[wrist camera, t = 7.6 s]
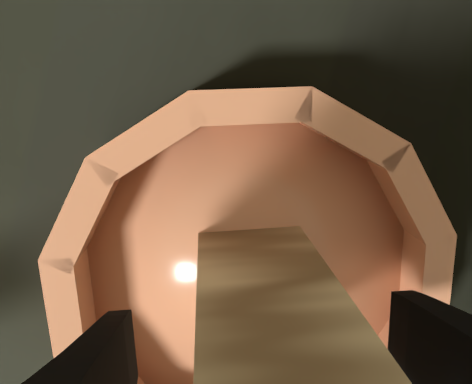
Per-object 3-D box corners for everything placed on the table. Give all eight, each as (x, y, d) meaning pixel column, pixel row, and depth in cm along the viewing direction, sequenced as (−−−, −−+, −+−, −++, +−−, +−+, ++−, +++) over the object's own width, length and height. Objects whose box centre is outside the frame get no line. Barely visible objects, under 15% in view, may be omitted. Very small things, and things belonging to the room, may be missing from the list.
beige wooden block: (299, 225, 14) (415, 389, 6) (300, 316, 15) (404, 556, 7) (198, 232, 14) (192, 411, 6) (205, 324, 15) (206, 581, 7)
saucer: (427, 82, 14) (473, 81, 12) (402, 397, 17) (434, 446, 15) (45, 95, 13) (10, 96, 11) (92, 424, 17) (73, 481, 14)
